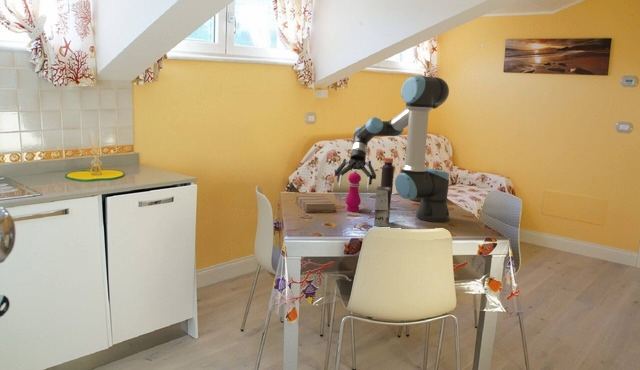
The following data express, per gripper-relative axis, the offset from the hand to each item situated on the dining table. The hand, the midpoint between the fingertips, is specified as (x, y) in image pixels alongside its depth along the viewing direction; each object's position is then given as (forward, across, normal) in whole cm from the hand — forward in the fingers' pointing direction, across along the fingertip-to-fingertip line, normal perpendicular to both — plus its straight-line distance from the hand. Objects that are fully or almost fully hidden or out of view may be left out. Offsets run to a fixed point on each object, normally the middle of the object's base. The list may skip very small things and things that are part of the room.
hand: (353, 188), depth 251 cm
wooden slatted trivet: (+7, +19, -8) cm, 22 cm away
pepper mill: (+7, 0, -9) cm, 11 cm away
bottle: (-30, -14, -46) cm, 57 cm away
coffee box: (+22, -16, +6) cm, 28 cm away
